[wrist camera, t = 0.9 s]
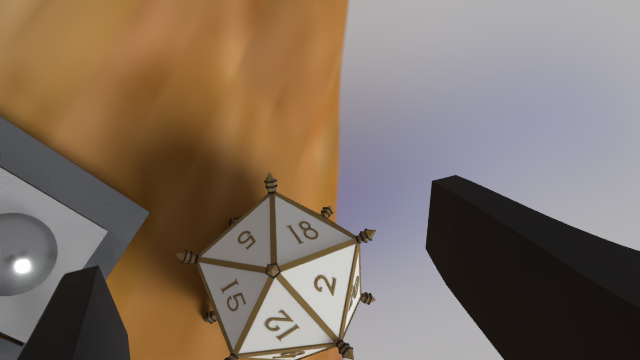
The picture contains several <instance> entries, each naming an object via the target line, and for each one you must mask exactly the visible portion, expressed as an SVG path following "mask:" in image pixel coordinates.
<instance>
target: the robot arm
mask: <svg viewBox="0 0 640 360" xmlns="http://www.w3.org/2000/svg"><path fill="white" fill-rule="evenodd" d="M426 250H427V252H428V254H429V256H430V257H431V259H432V261H433V263H434V265H435V266H436V268H437V270H438V272H439V273H440V275H441V277H442V278H443V280H444V282H445V283H446V285H447V286H448V288H449V289H450V290H451V291H452V293H453V294H454V296H455V297H456V298H457V299H458V301H459V302H460V303H461V305H462V306H463V307H464V309H465V310H466V311H467V313H468V314H469V315H470V316H471V318H472V319H473V320H474V322H475V323H476V324H477V325H478V327H479V328H480V329H481V330H482V332H483V333H484V334H485V336H486V337H487V338H488V340H489V341H490V342H491V343H492V345H493V346H494V347H495V349H496V350H497V351H498V352H499V354H500V355H501V356H502V358H503V359H504V360H640V251H637V250H634V249H631V248H628V247H625V246H622V245H619V244H616V243H614V242H611V241H608V240H605V239H603V238H600V237H598V236H595V235H592V234H590V233H587V232H585V231H582V230H580V229H577V228H574V227H572V226H570V225H567V224H565V223H563V222H560V221H558V220H556V219H553V218H551V217H549V216H546V215H544V214H542V213H540V212H537V211H535V210H533V209H531V208H528V207H526V206H524V205H522V204H520V203H518V202H515V201H513V200H511V199H509V198H507V197H505V196H502V195H500V194H498V193H496V192H494V191H492V190H489V189H487V188H485V187H483V186H481V185H478V184H476V183H474V182H472V181H469V180H467V179H464V178H462V177H459V176H457V175H454V176H450V177H446V178H443V179H438V180H434V181H432V187H431V197H430V208H429V218H428V229H427V239H426ZM16 360H130V353H129V343H128V334H127V332H126V329H125V327H124V325H123V322H122V320H121V317H120V315H119V313H118V310H117V308H116V305H115V303H114V301H113V298H112V296H111V293H110V291H109V289H108V286H107V284H106V281H105V279H104V277H103V274H102V272H101V269H100V267H99V265H97V266H93V267H89V268H85V269H81V270H77V271H73V272H69V273H65V274H64V275H63V277H62V278H61V280H60V281H59V283H58V285H57V287H56V289H55V291H54V293H53V295H52V297H51V299H50V300H49V302H48V304H47V306H46V308H45V310H44V312H43V314H42V315H41V317H40V319H39V321H38V323H37V325H36V326H35V328H34V330H33V332H32V334H31V335H30V337H29V339H28V341H27V342H26V344H25V346H24V348H23V349H22V351H21V353H20V354H19V356H18V358H17V359H16Z"/></svg>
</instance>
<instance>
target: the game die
mask: <svg viewBox="0 0 640 360" xmlns="http://www.w3.org/2000/svg"><path fill="white" fill-rule="evenodd" d="M276 181H277V180H276V179H275V178H274V177H273V176H272V175H271V174H270V172H269V174H268V176H267V178H266V181H264V182H265V183H266V186H265V188H267V190H268V194H267V195H266V196H264V197H263V198H262V199H261V200H260V201H259V202H258V203H256V204H255V205H254V206H253V207H252V208H251V209H250V210H248V211H247V212H246V213H245V214H244V215H243V216H242V217H240V218H239V219H238V218H230V223H229V226H230V227H229V228H228V229H227V230H226V231H225V232H223V233H222V234H221V235H220V236H219V237H218V238H217V239H215V240H214V241H213V242H212V243H211V244H210V245H209V246H207V247H206V248H205V249H204V250H203V251H202V252H201V253H200V254H198V255H195V254H193V253H192V252H187V250H185V251H183V252H180V253H177V254H175V255H176V256H177V257H178V258H179V259H180V260H181V261H182V263H184V262H186V263H187V264H189V263H195V264H196V266H197V269H198V271H199V274H200V277H201V279H202V282H203V284H204V287H205V289H206V292H207V295H208V297H209V300H210V302H211V305H212V307H213V310H214V311H210V313H207V316H206V318H205V321H206V322H209V323H210V324H212V323H213V322H215V321H216V320H218V323H219V326H220V328H221V331H222V333H223V336H224V338H225V341H226V344H227V346H228V349H229V351H230V356H229V357H227V358H225V359H224V360H237V359H238V358H239V359H256V360H300V359H303V358H306V357H309V356H311V355H314V354H317V353H320V352H322V351H325V350H328V349H331V348H334V347H338V349H339V354H342V358H348V359H353V360H354V357H353V348H352V347H350V346H349V344H348V343H345V342H343V338H344V336H345V333H346V331H347V329H348V326H349V324H350V322H351V320H352V317H353V315H354V313H355V311H356V308H357V306H358V304H359V301H360V300H361V301H362V302H363V303H367V304H368V305H369V304H370V303H371V302H373V301H375V299H374V298H373V296H372V295H371V293H369V294H367V292H365V293H363V294H362V293H361V264H360V243H362V242H365V243H367V241H369V240H370V241H371V240H372V237H373V235H374V233H375V231H376V230H368V229H365V230H364V231H363V232H362V231H361V232H360V234H359V235H358V236H355V235H353V234H352V233H350V232H349V231H347V230H345V229H344V228H342V227H340V226H339V225H337V224H335V223H334V222H332V221H331V220H329V219H327V218H329V217H330V216H331V214H332V213H333V212H332V210H331V206H329V207H323V210H322V211H321V215H320V214H318V213H316V212H314V211H312V210H310V209H308V208H306V207H304V206H302V205H300V204H298V203H296V202H294V201H293V200H291V199H289V198H287V197H285V196H283V195H281V194H279V193H277V192H276V187H277V185H276Z"/></svg>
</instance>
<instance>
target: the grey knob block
mask: <svg viewBox="0 0 640 360" xmlns="http://www.w3.org/2000/svg"><path fill="white" fill-rule="evenodd" d="M107 232H108V231H106V230H105V229H103V228H101V227H100V226H98V225H96V224H95V223H93V222H91V221H90V220H88V219H86V218H84V217H83V216H81V215H79V214H78V213H76V212H74V211H73V210H71V209H69V208H68V207H66V206H64V205H63V204H61V203H59V202H58V201H56V200H54V199H53V198H51V197H49V196H48V195H46V194H44V193H42V192H41V191H39V190H37V189H36V188H34V187H32V186H31V185H29V184H27V183H26V182H24V181H22V180H21V179H19V178H17V177H16V176H14V175H12V174H11V173H9V172H7V171H6V170H4V169H2V168H0V332H2V333H4V334H6V335H8V336H10V337H13V338H15V339H17V340H19V341H22V342H24V343H26V342H27V341H28V339H29V337H30V335H31V334H32V332H33V330H34V328H35V326H36V325H37V323H38V321H39V319H40V317H41V315H42V314H43V312H44V310H45V308H46V306H47V304H48V302H49V300H50V299H51V297H52V295H53V293H54V291H55V289H56V287H57V285H58V283H59V281H60V280H61V278H62V277H63V275H64V274H65V273H69V272H73V271H77V270H81V269H83V267H84V266H85V264H86V263H87V261H88V260H89V258H90V257H91V256H92V254H93V253H94V251H95V250H96V248H97V247H98V245H99V244H100V243H101V241H102V240H103V238H104V237H105V235H106V234H107Z"/></svg>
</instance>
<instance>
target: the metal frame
mask: <svg viewBox="0 0 640 360" xmlns="http://www.w3.org/2000/svg"><path fill="white" fill-rule="evenodd" d="M0 168H2V169H4V170H6V171H7V172H9V173H11V174H12V175H14V176H16V177H17V178H19V179H21V180H22V181H24V182H26V183H27V184H29V185H31V186H32V187H34V188H36V189H37V190H39V191H41V192H42V193H44V194H46V195H48V196H49V197H51V198H53V199H54V200H56V201H58V202H59V203H61V204H63V205H64V206H66V207H68V208H69V209H71V210H73V211H74V212H76V213H78V214H79V215H81V216H83V217H84V218H86V219H88V220H90V221H91V222H93V223H95V224H96V225H98V226H100V227H101V228H103V229H105V230H106V231H108V232H107V234H106V235H105V237H104V238H103V240H102V241H101V243H100V244H99V245H98V247H97V248H96V250H95V251H94V253H93V254H92V256H91V257H90V258H89V260H88V261H87V263H86V264H85V266H84V267H83V269H85V268H89V267H93V266H97V265H99V267H100V269H101V272H102V274H103V277H104V279H105V280H106V278H107V277H108V275H109V274H110V272H111V271H112V269H113V268H114V266H115V265H116V263H117V262H118V260H119V259H120V257H121V256H122V254H123V253H124V251H125V250H126V248H127V247H128V245H129V243H130V242H131V240H132V239H133V237H134V236H135V234H136V233H137V231H138V230H139V228H140V227H141V225H142V224H143V222H144V221H145V219H146V218H147V216H148V215H149V213H150V212H148V211H147V210H145V209H144V208H142V207H141V206H139V205H138V204H136V203H134V202H133V201H131V200H130V199H128V198H127V197H125V196H124V195H122V194H120V193H119V192H117V191H116V190H114V189H113V188H111V187H110V186H108V185H106V184H105V183H103V182H102V181H100V180H99V179H97V178H95V177H94V176H92V175H91V174H89V173H88V172H86V171H85V170H83V169H81V168H80V167H78V166H77V165H75V164H74V163H72V162H71V161H69V160H67V159H66V158H64V157H63V156H61V155H60V154H58V153H57V152H55V151H53V150H52V149H50V148H49V147H47V146H46V145H44V144H42V143H41V142H39V141H38V140H36V139H35V138H33V137H32V136H30V135H28V134H27V133H25V132H24V131H22V130H21V129H19V128H18V127H16V126H14V125H13V124H11V123H10V122H8V121H7V120H5V119H4V118H2V117H0ZM25 344H26V343H24V342H22V341H19V340H17V339H15V338H13V337H10V336H8V335H6V334H4V333H1V332H0V360H16V359H17V358H18V356H19V354H20V353H21V351H22V349H23V348H24V346H25Z"/></svg>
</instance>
